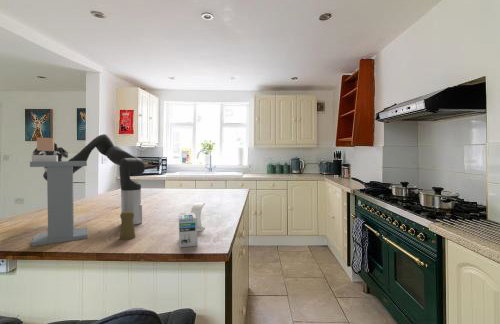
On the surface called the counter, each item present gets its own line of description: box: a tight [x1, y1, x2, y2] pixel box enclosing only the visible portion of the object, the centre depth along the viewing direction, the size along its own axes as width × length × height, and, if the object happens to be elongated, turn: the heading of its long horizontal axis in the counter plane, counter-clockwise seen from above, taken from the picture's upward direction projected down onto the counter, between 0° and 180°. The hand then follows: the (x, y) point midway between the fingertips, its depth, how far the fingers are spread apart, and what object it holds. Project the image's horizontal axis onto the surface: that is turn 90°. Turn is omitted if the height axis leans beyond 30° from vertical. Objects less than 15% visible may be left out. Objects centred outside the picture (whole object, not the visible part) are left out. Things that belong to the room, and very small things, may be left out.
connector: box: [36, 137, 55, 151], centre depth 109 cm, size 5×17×5 cm, turn 33°
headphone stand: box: [190, 202, 206, 232], centre depth 118 cm, size 5×6×12 cm
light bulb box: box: [178, 212, 198, 248], centre depth 100 cm, size 11×7×11 cm, turn 17°
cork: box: [118, 211, 136, 241], centre depth 107 cm, size 6×6×11 cm
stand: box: [29, 155, 89, 247], centre depth 107 cm, size 18×13×34 cm
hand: (48, 144), depth 112 cm, fingers closed on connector, 3 cm apart
